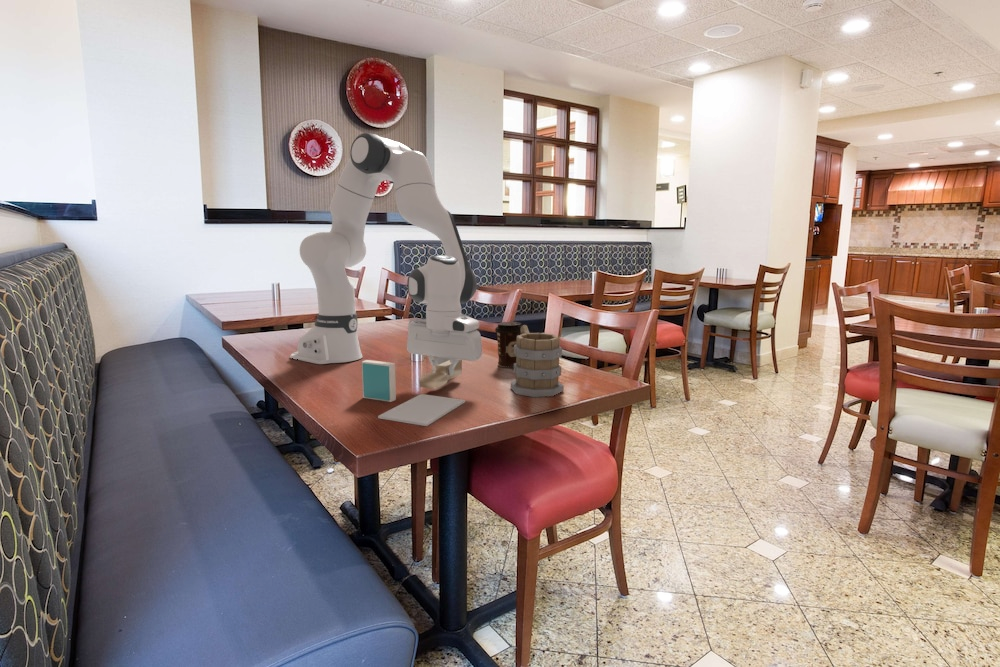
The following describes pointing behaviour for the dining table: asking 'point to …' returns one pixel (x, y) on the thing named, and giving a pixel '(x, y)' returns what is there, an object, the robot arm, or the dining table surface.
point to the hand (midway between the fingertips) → (443, 373)
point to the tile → (379, 380)
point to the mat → (422, 409)
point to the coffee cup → (507, 342)
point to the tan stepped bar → (440, 375)
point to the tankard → (537, 364)
